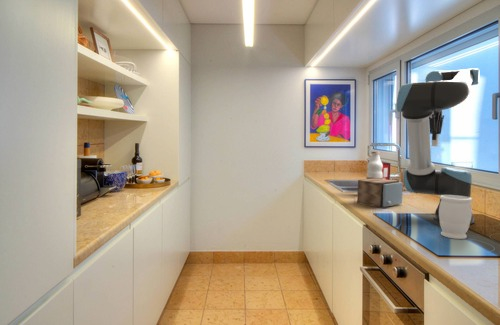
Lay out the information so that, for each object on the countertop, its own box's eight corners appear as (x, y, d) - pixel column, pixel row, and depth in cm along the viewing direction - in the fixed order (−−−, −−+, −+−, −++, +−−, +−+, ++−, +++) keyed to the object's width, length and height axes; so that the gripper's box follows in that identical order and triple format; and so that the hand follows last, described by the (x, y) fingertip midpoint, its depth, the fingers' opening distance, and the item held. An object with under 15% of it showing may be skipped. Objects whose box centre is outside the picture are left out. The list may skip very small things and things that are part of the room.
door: (405, 203, 184) (406, 182, 183) (387, 207, 173) (388, 185, 172) (400, 202, 186) (401, 182, 185) (382, 206, 175) (383, 184, 174)
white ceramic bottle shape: (365, 196, 208) (367, 151, 206) (366, 194, 216) (368, 151, 214) (381, 198, 204) (383, 152, 202) (382, 195, 213) (384, 151, 210)
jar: (458, 232, 132) (460, 194, 130) (476, 240, 121) (479, 199, 120) (431, 232, 131) (433, 194, 130) (448, 240, 121) (450, 199, 120)
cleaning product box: (367, 189, 238) (368, 161, 237) (379, 189, 238) (381, 161, 237) (375, 193, 222) (376, 163, 220) (388, 193, 222) (390, 163, 220)
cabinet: (397, 204, 186) (398, 180, 185) (380, 207, 176) (381, 183, 175) (374, 200, 197) (375, 178, 196) (357, 203, 187) (358, 180, 186)
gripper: (435, 102, 183) (433, 146, 185) (423, 101, 175) (421, 146, 177) (450, 101, 177) (447, 146, 179) (438, 99, 169) (436, 146, 171)
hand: (434, 146), depth 178 cm, fingers closed
